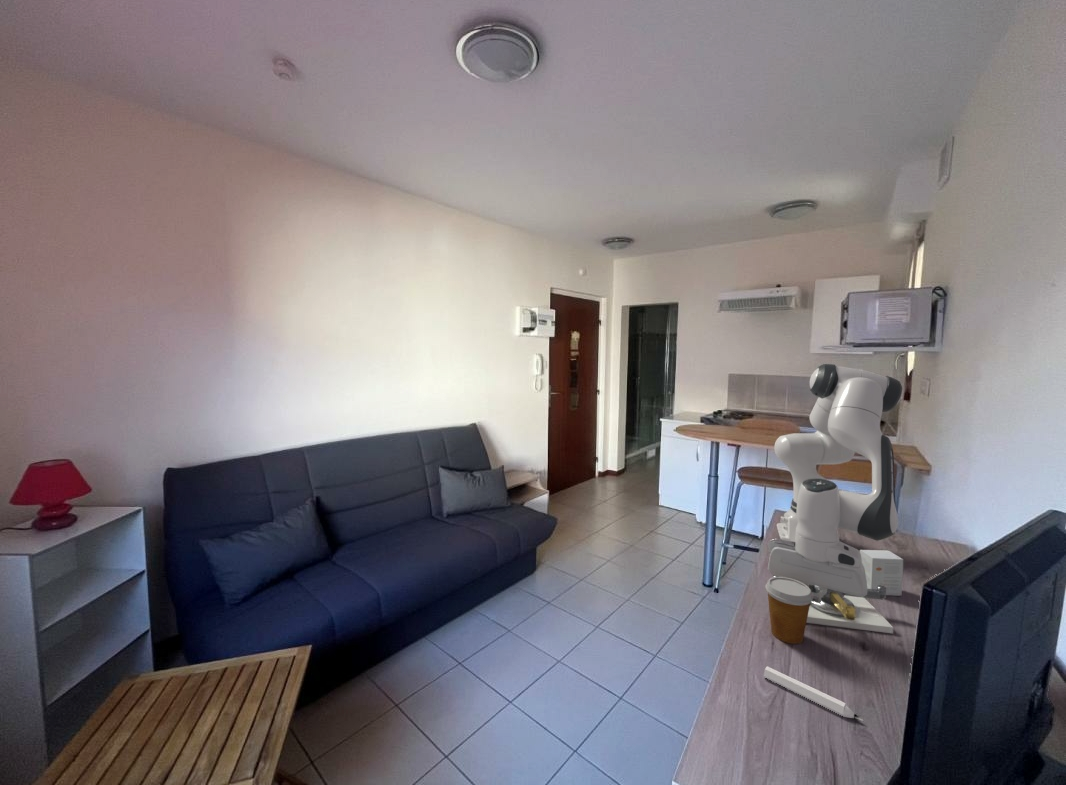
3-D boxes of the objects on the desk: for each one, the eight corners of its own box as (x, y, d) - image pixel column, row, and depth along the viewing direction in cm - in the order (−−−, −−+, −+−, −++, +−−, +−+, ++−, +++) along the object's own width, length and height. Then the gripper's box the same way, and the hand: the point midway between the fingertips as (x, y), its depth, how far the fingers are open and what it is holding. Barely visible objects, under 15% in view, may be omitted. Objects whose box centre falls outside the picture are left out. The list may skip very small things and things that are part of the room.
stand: (774, 584, 122) (775, 572, 122) (854, 593, 117) (855, 580, 117) (798, 621, 104) (798, 607, 104) (893, 633, 100) (893, 618, 99)
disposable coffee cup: (819, 651, 94) (821, 599, 93) (772, 646, 95) (774, 594, 95) (800, 625, 103) (802, 577, 102) (758, 621, 105) (759, 574, 104)
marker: (863, 730, 75) (764, 680, 86) (865, 718, 76) (768, 671, 87) (862, 722, 74) (763, 673, 85) (864, 710, 75) (766, 663, 86)
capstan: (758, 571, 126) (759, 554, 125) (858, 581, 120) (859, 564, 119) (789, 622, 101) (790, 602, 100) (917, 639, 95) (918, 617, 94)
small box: (887, 585, 121) (889, 550, 120) (902, 596, 116) (904, 559, 115) (857, 584, 122) (859, 548, 121) (870, 595, 116) (872, 557, 116)
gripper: (766, 540, 107) (764, 593, 108) (869, 562, 95) (866, 621, 96) (769, 532, 112) (767, 583, 113) (867, 552, 100) (865, 608, 101)
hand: (813, 601), depth 104 cm, fingers closed
